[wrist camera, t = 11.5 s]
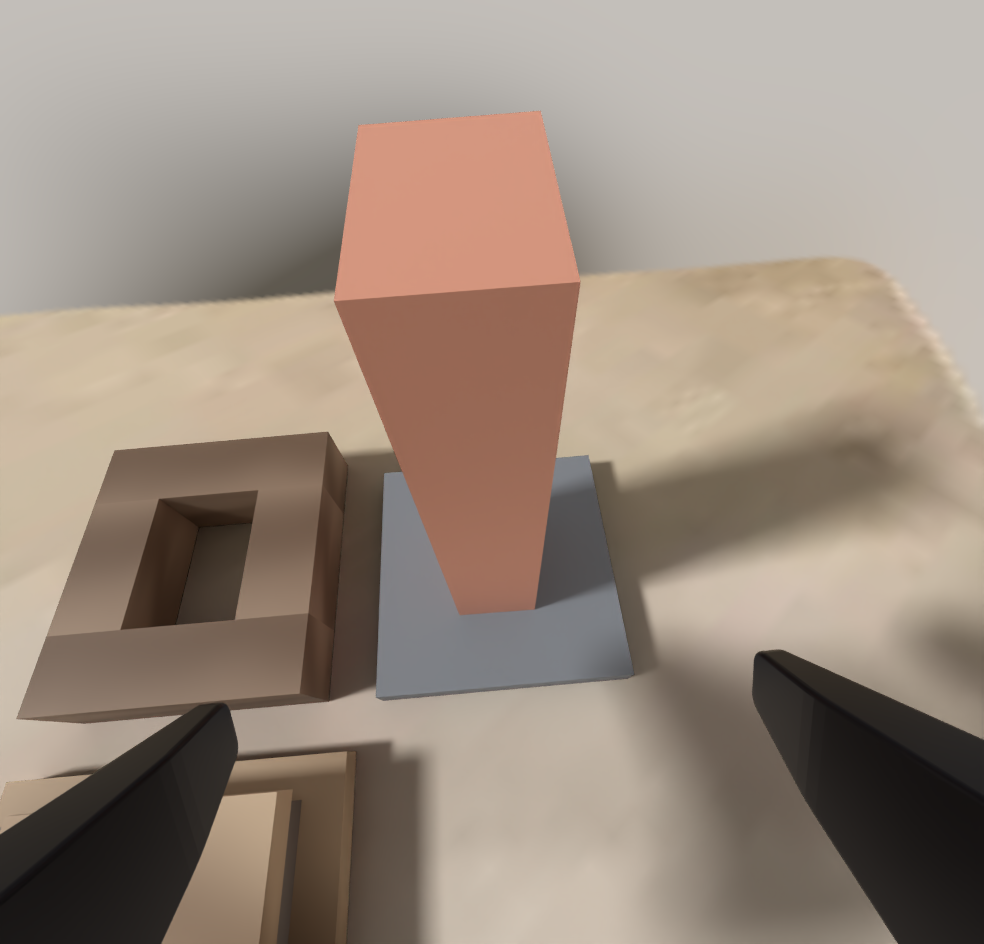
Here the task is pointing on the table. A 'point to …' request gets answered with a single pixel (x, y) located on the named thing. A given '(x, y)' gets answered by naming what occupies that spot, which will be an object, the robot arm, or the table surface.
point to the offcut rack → (216, 667)
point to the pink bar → (465, 334)
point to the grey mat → (501, 635)
